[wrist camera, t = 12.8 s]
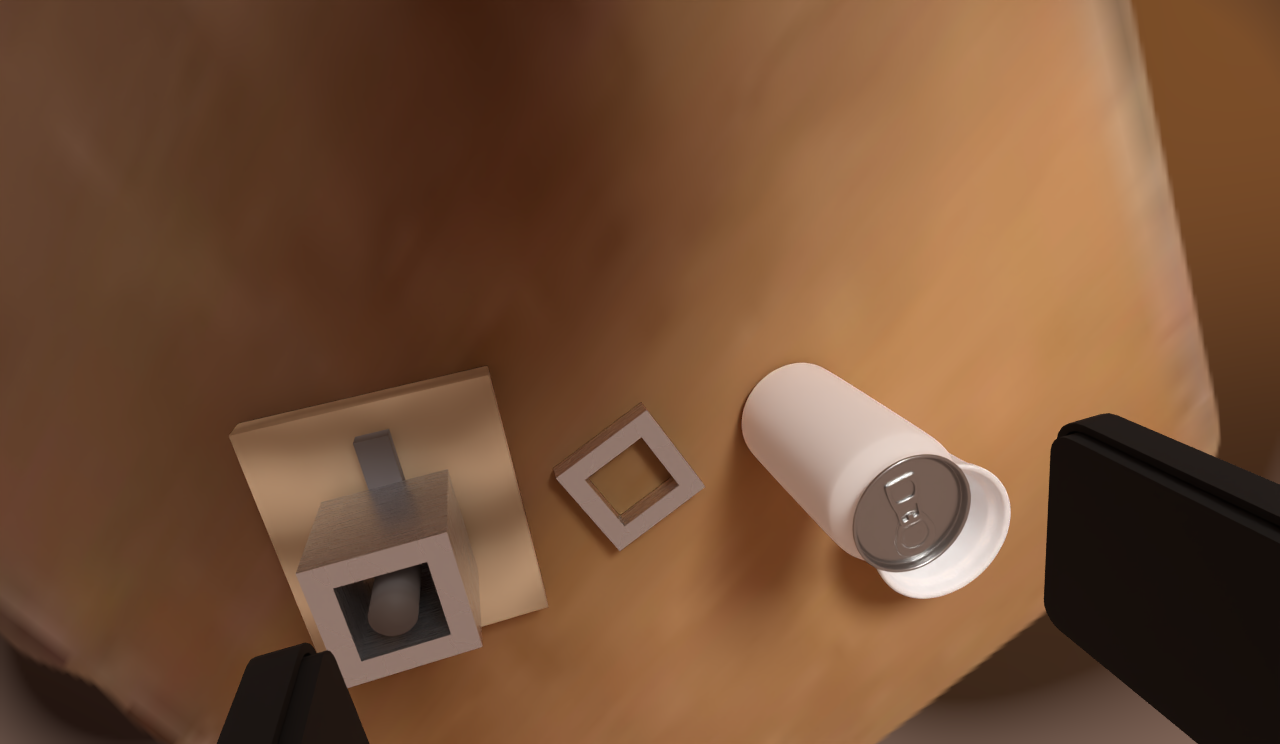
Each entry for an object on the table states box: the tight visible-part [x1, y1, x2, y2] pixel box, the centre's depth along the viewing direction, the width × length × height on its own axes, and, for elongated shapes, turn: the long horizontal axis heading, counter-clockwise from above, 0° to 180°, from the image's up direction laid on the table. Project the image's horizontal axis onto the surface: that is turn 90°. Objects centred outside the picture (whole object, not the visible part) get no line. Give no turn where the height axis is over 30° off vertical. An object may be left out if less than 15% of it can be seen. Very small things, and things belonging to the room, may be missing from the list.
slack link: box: [553, 402, 705, 551], centre depth 40 cm, size 6×6×1 cm
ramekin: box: [876, 453, 1011, 599], centre depth 44 cm, size 9×9×4 cm
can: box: [742, 363, 971, 572], centre depth 36 cm, size 6×6×12 cm
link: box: [296, 469, 483, 688], centre depth 33 cm, size 6×6×6 cm
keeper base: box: [229, 366, 548, 653], centre depth 34 cm, size 14×12×8 cm
